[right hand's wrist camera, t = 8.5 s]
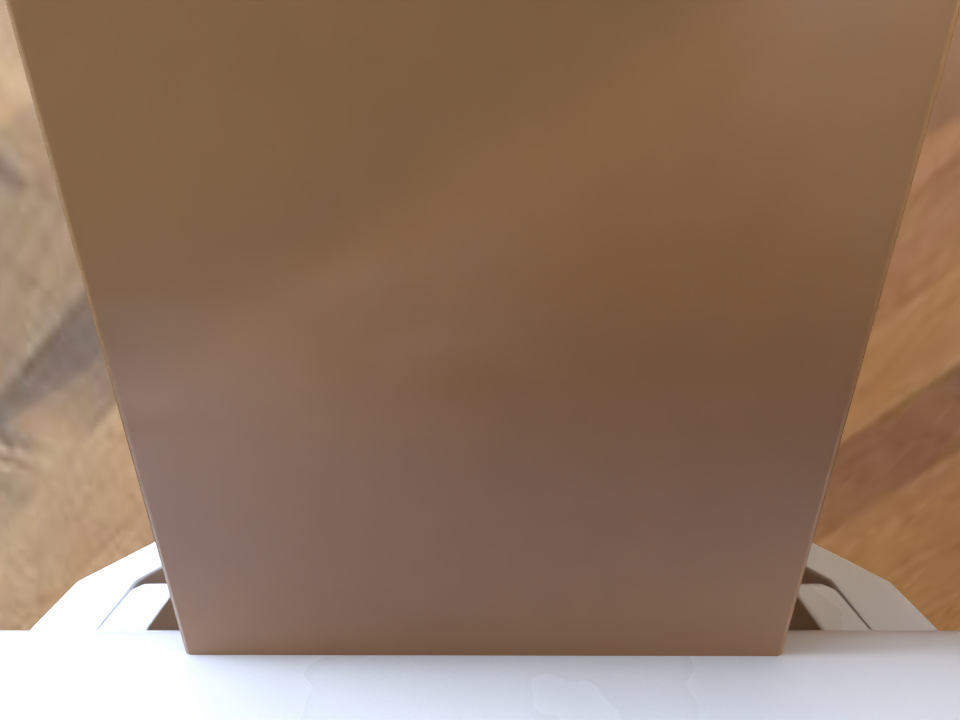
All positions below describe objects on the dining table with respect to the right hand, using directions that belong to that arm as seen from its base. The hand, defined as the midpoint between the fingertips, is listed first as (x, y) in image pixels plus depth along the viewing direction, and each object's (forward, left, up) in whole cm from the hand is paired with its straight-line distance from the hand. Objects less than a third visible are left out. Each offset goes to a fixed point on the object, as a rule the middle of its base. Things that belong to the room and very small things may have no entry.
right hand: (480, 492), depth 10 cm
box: (-10, +3, -5) cm, 12 cm away
